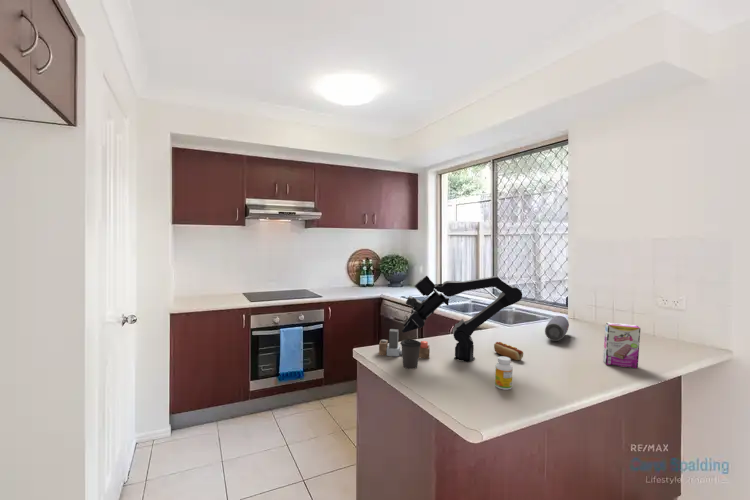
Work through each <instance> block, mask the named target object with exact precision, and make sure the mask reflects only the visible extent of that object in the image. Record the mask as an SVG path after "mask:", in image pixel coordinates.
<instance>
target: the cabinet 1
mask: <svg viewBox="0 0 750 500" xmlns="http://www.w3.org/2000/svg"><path fill="white" fill-rule="evenodd" d="M388 344H389V339H380V340H379V344H378V347H379V348H378V355H379V356H384V357H385V356H387V347H388Z"/></svg>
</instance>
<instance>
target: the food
mask: <svg viewBox="0 0 750 500" xmlns="http://www.w3.org/2000/svg"><path fill="white" fill-rule="evenodd" d="M493 349H494V351H495V352H496V354H498V355H501V356H504V357H509V358H510V359H511V360H514V361H521V360H522V359H523V358H524V351H523V350H521V349H519V348H517V347H514V346H512V345H510V344H507V343H503V342H501V341H496V342H495V343H494V344H493Z"/></svg>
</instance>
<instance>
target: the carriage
mask: <svg viewBox="0 0 750 500" xmlns="http://www.w3.org/2000/svg"><path fill="white" fill-rule="evenodd" d="M388 332H389V335H388V347H387V355H386V356H387V357H388V356H389V357H399V356H400V355H399V350H401V344H399V329H395V328H390V329H389V331H388Z"/></svg>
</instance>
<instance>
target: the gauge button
mask: <svg viewBox="0 0 750 500" xmlns="http://www.w3.org/2000/svg"><path fill="white" fill-rule="evenodd" d="M420 343H421V346H420V348H427V349H428V345H429V344H428V341H426V340H421V341H420Z"/></svg>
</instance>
